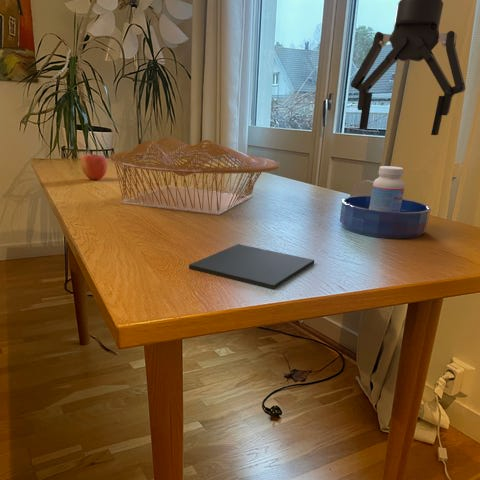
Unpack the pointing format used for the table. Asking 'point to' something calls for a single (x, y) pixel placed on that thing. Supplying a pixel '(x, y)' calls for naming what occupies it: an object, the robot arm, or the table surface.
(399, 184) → the pill bottle
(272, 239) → the table surface
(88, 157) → the apple
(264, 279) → the mat
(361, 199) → the bowl
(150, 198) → the basket
